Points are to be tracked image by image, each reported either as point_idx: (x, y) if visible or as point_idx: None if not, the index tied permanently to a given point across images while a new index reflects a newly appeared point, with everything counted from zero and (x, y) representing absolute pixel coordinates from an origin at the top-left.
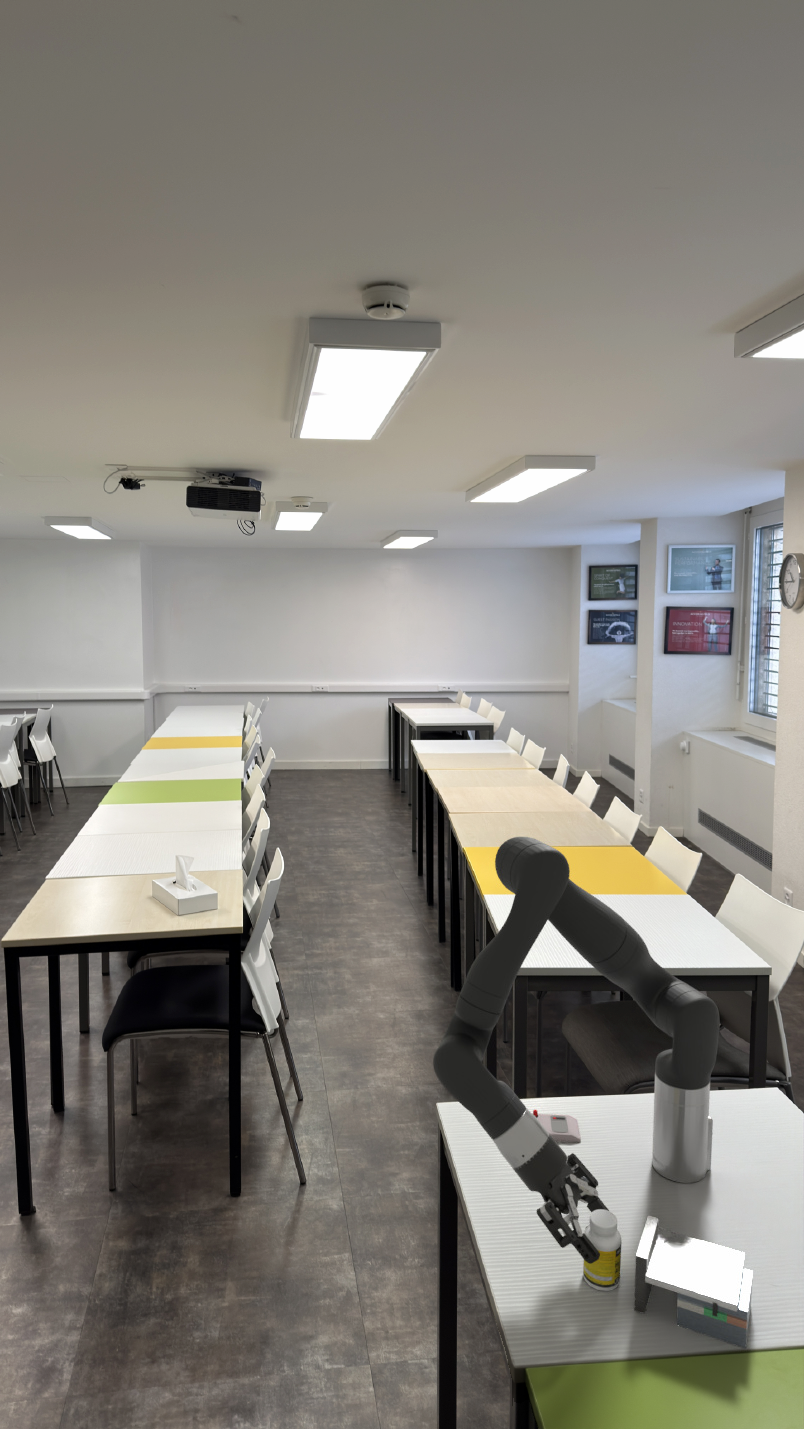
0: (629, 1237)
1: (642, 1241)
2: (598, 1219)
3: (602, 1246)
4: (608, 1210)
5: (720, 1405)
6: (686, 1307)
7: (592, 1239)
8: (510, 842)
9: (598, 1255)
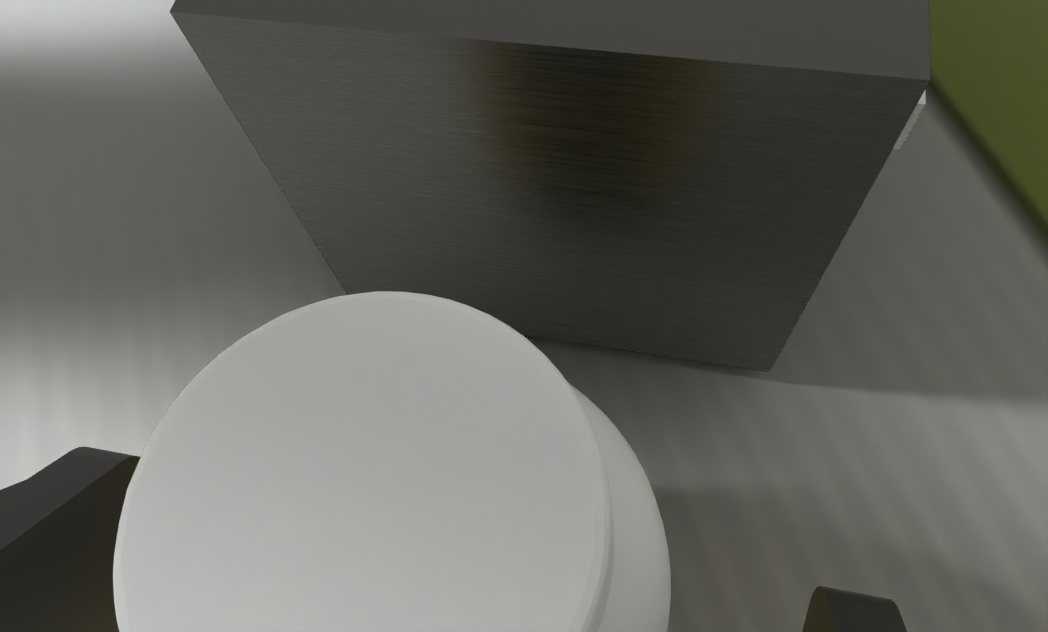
0: (66, 431)
1: (633, 36)
2: (413, 607)
3: (661, 558)
4: (12, 492)
5: None
6: None
7: None
8: None
9: (890, 603)
